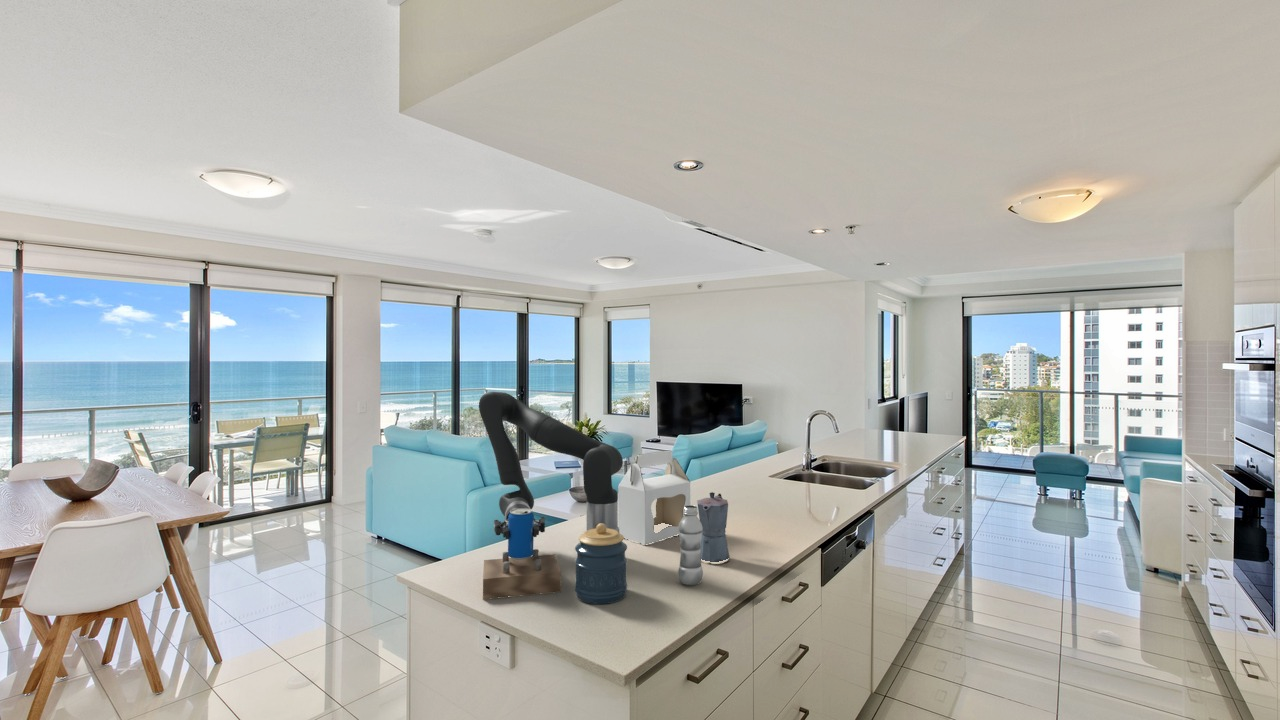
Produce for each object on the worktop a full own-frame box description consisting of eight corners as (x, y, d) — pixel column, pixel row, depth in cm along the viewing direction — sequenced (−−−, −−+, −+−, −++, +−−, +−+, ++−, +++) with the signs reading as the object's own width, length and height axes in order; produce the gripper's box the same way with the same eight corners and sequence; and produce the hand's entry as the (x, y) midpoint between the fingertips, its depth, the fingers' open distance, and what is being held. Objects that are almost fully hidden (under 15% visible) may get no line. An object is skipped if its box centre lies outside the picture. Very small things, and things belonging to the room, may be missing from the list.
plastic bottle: (705, 580, 149) (705, 505, 149) (699, 589, 142) (699, 511, 143) (681, 577, 151) (681, 503, 151) (675, 586, 144) (675, 508, 145)
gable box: (663, 524, 202) (663, 447, 203) (691, 532, 193) (691, 451, 193) (617, 537, 187) (617, 453, 188) (644, 546, 178) (644, 458, 178)
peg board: (555, 572, 155) (555, 545, 155) (561, 591, 141) (561, 561, 141) (483, 578, 150) (484, 550, 150) (482, 599, 136) (483, 568, 136)
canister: (607, 609, 131) (607, 533, 131) (564, 597, 138) (564, 525, 138) (637, 591, 142) (637, 521, 142) (595, 580, 149) (595, 514, 149)
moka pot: (690, 565, 160) (690, 495, 160) (705, 549, 174) (704, 485, 175) (723, 570, 156) (723, 498, 157) (735, 553, 171) (735, 487, 171)
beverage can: (527, 562, 142) (527, 515, 142) (503, 560, 143) (504, 513, 143) (537, 553, 148) (537, 508, 148) (514, 551, 150) (514, 507, 150)
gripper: (492, 504, 158) (492, 521, 142) (544, 502, 161) (549, 517, 145) (492, 531, 158) (492, 551, 142) (544, 528, 161) (549, 546, 145)
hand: (521, 534), depth 144 cm, fingers closed on beverage can, 6 cm apart
